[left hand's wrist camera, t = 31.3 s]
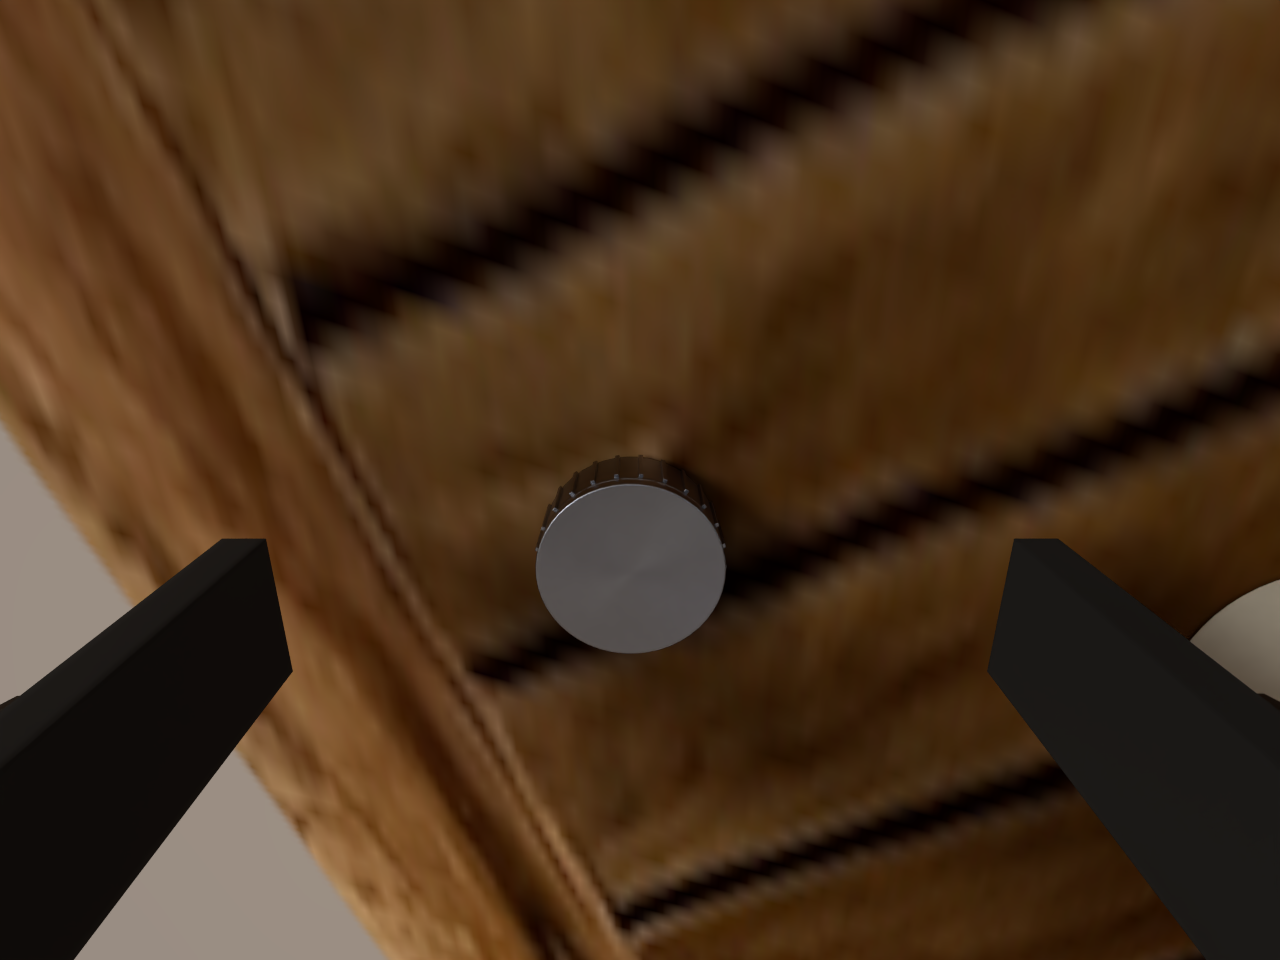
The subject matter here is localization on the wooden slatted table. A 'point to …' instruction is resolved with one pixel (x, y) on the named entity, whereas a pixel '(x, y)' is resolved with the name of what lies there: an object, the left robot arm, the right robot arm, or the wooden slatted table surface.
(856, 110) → the wooden slatted table surface
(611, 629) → the cap
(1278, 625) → the bottle
